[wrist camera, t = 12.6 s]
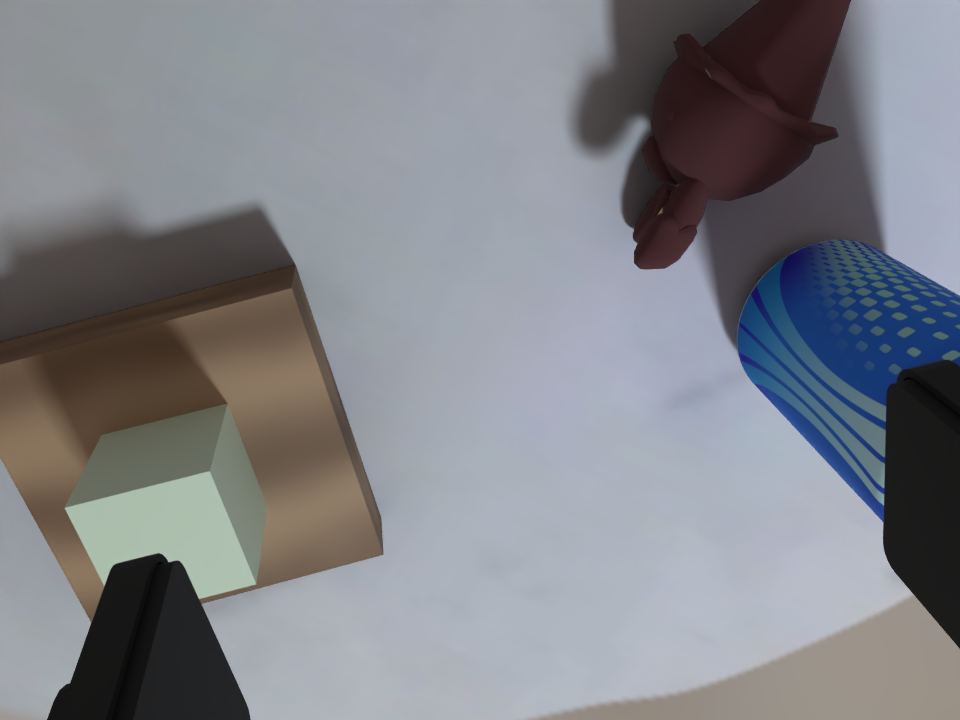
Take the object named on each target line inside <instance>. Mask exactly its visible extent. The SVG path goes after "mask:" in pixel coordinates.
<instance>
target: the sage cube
mask: <svg viewBox="0 0 960 720" xmlns="http://www.w3.org/2000/svg"><path fill="white" fill-rule="evenodd" d="M65 510H66V512H67V514H68V516H69V518H70V520H71V522H72V524H73V526H74V528H75V530H76V532H77V533H78V535H79V537H80V539H81V541H82V543H83V545H84V547H85V549H86V551H87V553H88V555H89V557H90V559H91V561H92V563H93V565H94V567H95V569H96V571H97V573H98V575H99V577H100V579H101V581H102V583H103V585H104V586H105V583H106V580H107V578H108V575H109V572H110V570H111V568H112V566H113V565H115V564H116V563H120V562H124V561H128V560H132V559H136V558H140V557H144V556H148V555H153V554H157V553H160V554H163V555H164V556H165V557H166V559H167V560H168V562H172V561H176V560H177V561H180V562H181V563H182V564H183V566H184V567H185V569H186V571H187V574H188V576H189V578H190V580H191V583H192V585H193V587H194V589H195V591H196V594H197V596H198V598H199V599H201V598H205V597H209V596H213V595H217V594H221V593H225V592H228V591H232V590H236V589H240V588H244V587H248V586H252V585H256V583H257V576H258V569H259V562H260V555H261V548H262V541H263V534H264V527H265V521H266V514H267V504H266V502H265V499H264V496H263V494H262V491H261V489H260V486H259V483H258V481H257V478H256V476H255V473H254V470H253V468H252V465H251V463H250V460H249V457H248V455H247V452H246V450H245V447H244V444H243V442H242V439H241V437H240V434H239V432H238V429H237V426H236V424H235V421H234V419H233V416H232V413H231V411H230V408H229V406H228V403H227V404H223V405H219V406H215V407H211V408H207V409H203V410H199V411H195V412H191V413H187V414H183V415H179V416H175V417H171V418H167V419H163V420H159V421H155V422H151V423H147V424H143V425H139V426H135V427H131V428H127V429H124V430H120V431H116V432H112V433H108V434H104V435H101V437H100V439H99V441H98V443H97V445H96V447H95V449H94V451H93V453H92V455H91V457H90V459H89V461H88V463H87V464H86V466H85V468H84V470H83V472H82V474H81V476H80V478H79V480H78V482H77V484H76V486H75V488H74V490H73V492H72V494H71V496H70V498H69V500H68V502H67V504H66V506H65Z"/></svg>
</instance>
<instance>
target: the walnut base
mask: <svg viewBox="0 0 960 720" xmlns="http://www.w3.org/2000/svg"><path fill="white" fill-rule="evenodd" d="M227 403H228V406H229V408H230V411H231V413H232V416H233V419H234V421H235V424H236V426H237V429H238V432H239V434H240V437H241V439H242V442H243V444H244V447H245V450H246V452H247V455H248V457H249V460H250V463H251V465H252V468H253V470H254V473H255V476H256V478H257V481H258V483H259V486H260V489H261V491H262V494H263V496H264V499H265V502H266V504H267V514H266V521H265V527H264V534H263V541H262V548H261V555H260V562H259V569H258V576H257V583H256V585H252V586H248V587H244V588H240V589H236V590H232V591H228V592H225V593H221V594H217V595H213V596H209V597H205V598H201V599H199V600H200V602H201V604H203V603H206V602H210V601H214V600H217V599H221V598H225V597H229V596H232V595H236V594H240V593H243V592H247V591H251V590H254V589H258V588H262V587H265V586H269V585H273V584H277V583H280V582H284V581H288V580H291V579H295V578H299V577H302V576H306V575H310V574H313V573H317V572H321V571H325V570H328V569H332V568H336V567H339V566H343V565H347V564H350V563H354V562H358V561H362V560H365V559H369V558H373V557H376V556H380V555H383V539H382V522H381V516H380V513H379V510H378V507H377V504H376V501H375V498H374V495H373V493H372V490H371V487H370V484H369V481H368V478H367V475H366V472H365V469H364V466H363V463H362V460H361V457H360V454H359V451H358V448H357V445H356V442H355V439H354V436H353V433H352V430H351V427H350V425H349V422H348V419H347V416H346V413H345V410H344V407H343V404H342V401H341V398H340V395H339V392H338V389H337V386H336V383H335V380H334V377H333V374H332V371H331V368H330V365H329V362H328V359H327V357H326V354H325V351H324V348H323V345H322V342H321V339H320V336H319V333H318V330H317V327H316V324H315V321H314V318H313V315H312V312H311V309H310V306H309V303H308V300H307V297H306V294H305V292H304V289H303V286H302V283H301V280H300V277H299V274H298V271H297V268H296V265H293V266H289V267H285V268H281V269H277V270H274V271H270V272H266V273H262V274H258V275H255V276H251V277H247V278H243V279H239V280H235V281H232V282H228V283H224V284H220V285H216V286H213V287H209V288H205V289H201V290H197V291H193V292H190V293H186V294H182V295H178V296H174V297H170V298H167V299H163V300H159V301H155V302H151V303H148V304H144V305H140V306H136V307H132V308H128V309H125V310H121V311H117V312H113V313H109V314H105V315H102V316H98V317H94V318H90V319H86V320H83V321H79V322H75V323H71V324H67V325H63V326H60V327H56V328H52V329H48V330H44V331H41V332H37V333H33V334H29V335H25V336H21V337H18V338H14V339H10V340H6V341H2V342H0V458H1V460H2V461H3V463H4V465H5V467H6V469H7V471H8V472H9V474H10V476H11V478H12V480H13V481H14V483H15V485H16V487H17V489H18V490H19V492H20V494H21V496H22V498H23V500H24V501H25V503H26V505H27V507H28V509H29V510H30V512H31V514H32V516H33V518H34V519H35V521H36V523H37V525H38V527H39V528H40V530H41V532H42V534H43V536H44V538H45V539H46V541H47V543H48V545H49V547H50V548H51V550H52V552H53V554H54V556H55V557H56V559H57V561H58V563H59V565H60V567H61V568H62V570H63V572H64V574H65V576H66V577H67V579H68V581H69V583H70V585H71V586H72V588H73V590H74V592H75V594H76V596H77V597H78V599H79V601H80V603H81V605H82V606H83V608H84V610H85V612H86V614H87V615H88V617H89V619H90V621H91V623H92V620H93V617H94V615H95V612H96V609H97V606H98V603H99V600H100V597H101V595H102V592H103V589H104V585H103V583H102V581H101V579H100V577H99V575H98V573H97V571H96V569H95V567H94V565H93V563H92V561H91V559H90V557H89V555H88V553H87V551H86V549H85V547H84V545H83V543H82V541H81V539H80V537H79V535H78V533H77V532H76V530H75V528H74V526H73V524H72V522H71V520H70V518H69V516H68V514H67V512H66V510H65V506H66V504H67V502H68V500H69V498H70V496H71V494H72V492H73V490H74V488H75V486H76V484H77V482H78V480H79V478H80V476H81V474H82V472H83V470H84V468H85V466H86V464H87V463H88V461H89V459H90V457H91V455H92V453H93V451H94V449H95V447H96V445H97V443H98V441H99V439H100V437H101V435H104V434H108V433H112V432H116V431H120V430H124V429H127V428H131V427H135V426H139V425H143V424H147V423H151V422H155V421H159V420H163V419H167V418H171V417H175V416H179V415H183V414H187V413H191V412H195V411H199V410H203V409H207V408H211V407H215V406H219V405H223V404H227Z"/></svg>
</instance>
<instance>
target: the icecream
mask: <svg viewBox="0 0 960 720" xmlns="http://www.w3.org/2000/svg"><path fill="white" fill-rule="evenodd" d="M850 2H851V0H761V1H759V2H758V3H757V4H756V5H754V6H753V7H752V8H751V9H750V10H748V11H747V12H746V13H745V14H743V15H742V16H741V17H740V18H739V19H737V20H736V21H735V22H734V23H732V24H731V25H730V26H729V27H728V28H726V29H725V30H724V31H723V32H721V33H720V34H719V35H718V36H717V37H715V38H714V39H713V40H712V41H710V42H709V43H708V44H707V45H705V46H704V47H703V48H702V47H701V46H700V45H699V43H698V42H697V41H696V40H695V39H694V37H692V36H691V35H690V34H682V35H679V36H678V37H677V41H674V45H675V48H676V51H677V54H678V59H677V60H676V61H675V62H674V63H673V64H672V65H671V66H670V67H669V68H668V70H667V72H666V75H665V77H664V79H663V81H662V83H661V85H660V87H659V89H658V91H657V93H656V96H655V102H654V109H653V116H652V122H651V124H652V132H653V137H650V138H649V139H648V141H647V143H646V144H645V146H644V147H643V149H642V151H643V155H644V158H645V161H646V164H647V167H648V170H649V172H650V173H651V174H652V175H653V176H654V177H655V178H656V179H657V180H658V181H660V182H662V183H664V184H663V185H662V186H661V187H660V189H659V190H658V191H657V192H656V194H655V195H654V196H653V197H652V199H651V200H650V201H649V202H648V204H647V206H646V207H645V209H644V211H643V213H642V214H641V216H640V218H639V220H638V221H637V223H636V225H635V229H634V232H633V239H634V241H635V242H636V243H638V244H637V246H636V249H635V251H634V263H635V264H636V265H637V266H638V267H639V268H640V269H664V268H667V267H668V266H670V265H671V264H673V263H675V262H676V261H678V260H679V259H680V257H681V256H682V255H683V253H684V252H685V251H686V249H687V248H688V247H689V246H690V244H691V243H692V242H693V240H694V238H695V236H696V234H697V229H696V227H697V226H698V224H699V222H700V220H701V218H702V216H703V214H704V210H705V207H706V203H707V199H716V200H725V201H731V200H734V199H737V198H741V197H744V196H748V195H751V194H755V193H758V192H761V191H763V190H764V189H766V188H768V187H770V186H771V185H773V184H775V183H776V182H778V181H780V180H781V179H783V178H785V177H786V176H787V175H789V174H790V173H791V172H792V171H794V170H795V169H796V168H797V167H798V166H800V165H801V164H802V163H803V162H805V161H806V160H807V159H808V158H809V157H810V155H811V152H812V150H813V148H814V146H815V145H817V144H820V143H823V142H826V141H828V140H831V139H834V138H836V137H838V134H837V130H836V128H833V127H829V126H825V125H821V124H817V123H814V122H811V119H812V116H813V113H814V110H815V107H816V104H817V101H818V98H819V95H820V92H821V89H822V86H823V83H824V80H825V77H826V74H827V71H828V68H829V65H830V62H831V59H832V56H833V53H834V50H835V47H836V44H837V41H838V38H839V35H840V32H841V29H842V26H843V23H844V20H845V17H846V14H847V11H848V8H849V5H850Z"/></svg>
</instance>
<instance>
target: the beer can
mask: <svg viewBox="0 0 960 720" xmlns="http://www.w3.org/2000/svg"><path fill="white" fill-rule="evenodd" d="M737 348H738V354H739V358H740V361H741V364H742V366H743V368H744V370H745V372H746V374H747V376H748V377H749V378H750V380H751V381H752V382H753V383H754V384H755V385H756V387H757V388H758V389H759V390H760V391H761V392H762V393H763V394H764V395H765V396H766V397H767V398H768V399H769V400H770V401H771V403H772V404H773V405H774V406H775V407H776V408H777V409H778V410H779V411H780V412H781V413H782V414H783V415H784V416H785V417H786V419H787V420H788V421H789V422H790V423H791V424H792V425H793V426H794V427H795V428H796V429H797V430H798V431H799V432H800V434H801V435H802V436H803V437H804V438H805V439H806V440H807V441H808V442H809V443H810V444H811V445H812V446H813V447H814V448H815V450H816V451H817V452H818V453H819V454H820V455H821V456H822V457H823V458H824V459H825V460H826V461H827V462H828V463H829V465H830V466H831V467H832V468H833V469H834V470H835V471H836V472H837V473H838V474H839V475H840V476H841V477H842V478H843V479H844V481H845V482H846V483H847V484H848V485H849V486H850V487H851V488H852V489H853V490H854V491H855V492H856V493H857V494H858V496H859V497H860V498H861V499H862V500H863V501H864V502H865V503H866V504H867V505H868V506H869V507H870V508H871V509H872V510H873V512H874V513H875V514H876V515H877V516H878V517H879V518H880V519H881V520H882V521H883V522H884V481H885V435H886V395H887V389H888V387H889V386H890V385H891V384H893V383H897V377H898V375H899V373H900V372H901V371H902V370H904V369H907V368H911V367H915V366H919V365H923V364H928V363H932V362H936V361H940V360H950V361H953V362H955V363H956V364H958V365H959V366H960V296H959V295H957V294H955V293H954V292H952V291H950V290H948V289H947V288H945V287H943V286H941V285H939V284H938V283H936V282H934V281H932V280H931V279H929V278H927V277H925V276H924V275H922V274H920V273H918V272H916V271H915V270H913V269H911V268H909V267H908V266H906V265H904V264H902V263H901V262H899V261H897V260H895V259H893V258H892V257H890V256H888V255H886V254H885V253H883V252H881V251H879V250H878V249H876V248H874V247H872V246H870V245H867V244H864V243H861V242H857V241H852V240H827V241H822V242H817V243H814V244H811V245H807V246H805V247H803V248H800V249H798V250H796V251H794V252H792V253H790V254H789V255H787V256H786V257H784V258H783V259H781V260H780V261H779V262H777V263H776V264H775V265H773V266H772V267H771V268H770V269H769V270H768V271H767V272H766V273H765V274H764V275H763V276H762V277H761V278H760V279H759V281H758V282H757V283H756V285H755V286H754V288H753V289H752V291H751V293H750V295H749V296H748V298H747V300H746V302H745V305H744V307H743V309H742V312H741V315H740V319H739V323H738V330H737Z"/></svg>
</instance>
